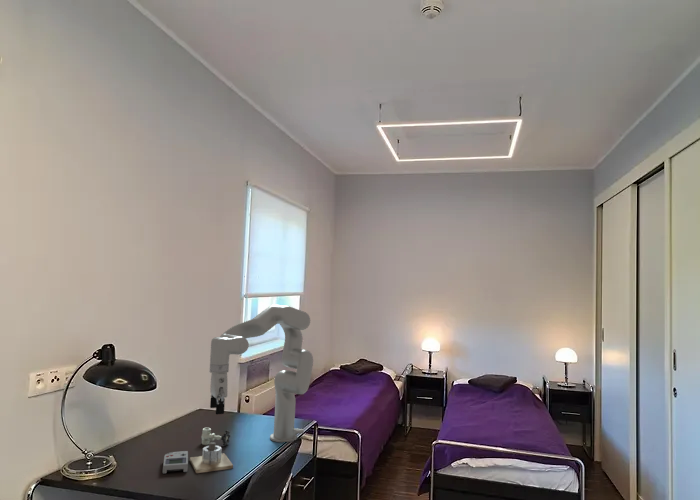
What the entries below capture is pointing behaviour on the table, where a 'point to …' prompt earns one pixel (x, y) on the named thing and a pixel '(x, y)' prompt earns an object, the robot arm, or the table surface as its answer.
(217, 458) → the hub
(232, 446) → the table surface
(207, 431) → the valve
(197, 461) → the shaft stand
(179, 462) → the handheld gaming device
